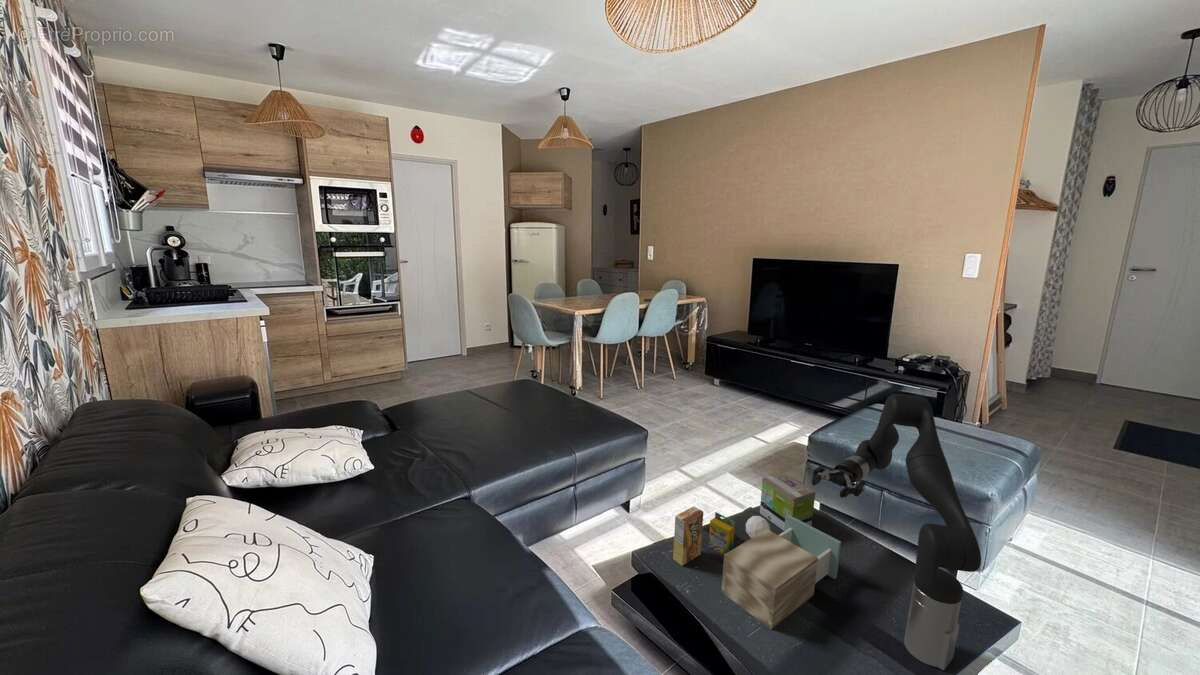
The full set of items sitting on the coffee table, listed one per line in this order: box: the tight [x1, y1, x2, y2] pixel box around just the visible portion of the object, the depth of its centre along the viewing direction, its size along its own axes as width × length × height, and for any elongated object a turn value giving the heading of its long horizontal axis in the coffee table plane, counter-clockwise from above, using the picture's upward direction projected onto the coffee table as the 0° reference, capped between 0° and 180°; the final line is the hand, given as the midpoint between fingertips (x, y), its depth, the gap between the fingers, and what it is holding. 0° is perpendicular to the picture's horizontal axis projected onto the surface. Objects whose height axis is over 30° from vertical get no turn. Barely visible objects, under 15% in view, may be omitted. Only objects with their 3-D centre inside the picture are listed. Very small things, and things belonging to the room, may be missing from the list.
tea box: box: [759, 472, 816, 532], centre depth 164 cm, size 15×10×15 cm
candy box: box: [672, 505, 704, 566], centre depth 145 cm, size 9×4×15 cm, turn 129°
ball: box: [745, 515, 771, 539], centre depth 156 cm, size 8×8×8 cm
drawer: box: [778, 514, 842, 584], centre depth 138 cm, size 17×20×12 cm
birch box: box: [721, 529, 818, 630], centre depth 131 cm, size 16×20×12 cm
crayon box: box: [708, 511, 736, 556], centre depth 149 cm, size 7×3×12 cm, turn 42°
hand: (827, 488), depth 144 cm, fingers open, 8 cm apart
